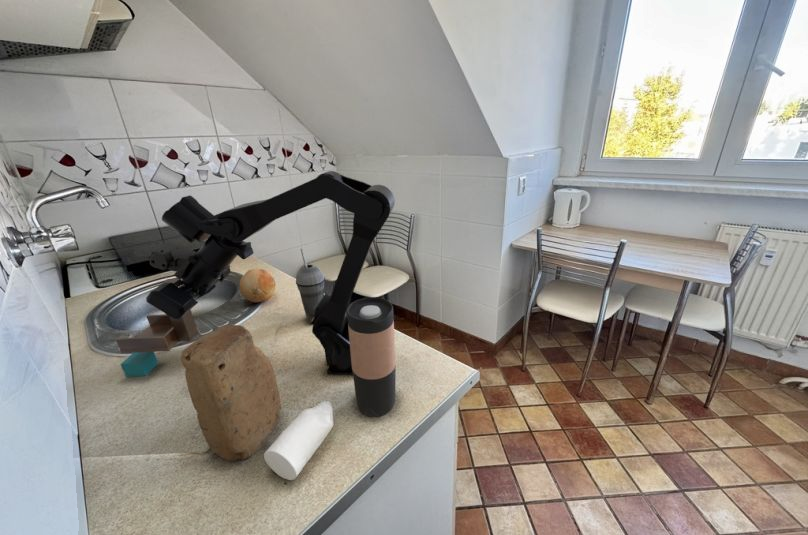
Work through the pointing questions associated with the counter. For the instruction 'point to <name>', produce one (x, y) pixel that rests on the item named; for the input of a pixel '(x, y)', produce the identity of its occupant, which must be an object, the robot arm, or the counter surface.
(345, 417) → the counter surface
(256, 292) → the onion
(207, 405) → the porous brown stone
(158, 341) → the brown angle bracket
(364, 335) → the travel mug
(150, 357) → the cube
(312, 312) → the beverage cup
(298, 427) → the white bottle
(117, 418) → the counter surface
